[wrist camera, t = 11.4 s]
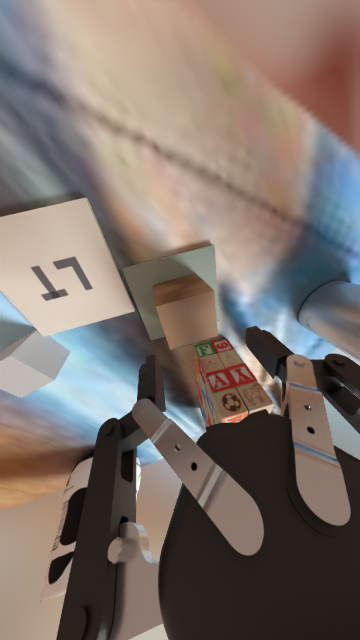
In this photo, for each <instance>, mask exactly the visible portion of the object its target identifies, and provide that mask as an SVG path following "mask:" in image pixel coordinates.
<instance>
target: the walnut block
mask: <svg viewBox="0 0 360 640" xmlns="http://www.w3.org/2000/svg"><path fill="white" fill-rule="evenodd" d="M153 292H154V299H155V306H156V309H157V312H158V315H159V318H160V321H161V324H162V327H163V330H164V333H165V336H166V339H167V342H168V345H169V348H170V350H172V349H175V348H179V347H182V346H185V345H189V344H192V343H196V342H199V341H202V340H206V339H209V338H212V337H216V336H218V330H217V318H216V306H215V294H214V290H213V289H212V288H211V287H210V286H209V285H208V284H207V283H206V282H205V281H204V280H203V279H202V278H200V277H199V276H198V275H197V274H196V273H195V274H191V275H188V276H184V277H180V278H176V279H173V280H169V281H165V282H162V283H158V284H154V285H153Z"/></svg>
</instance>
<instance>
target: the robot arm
mask: <svg viewBox="0 0 360 640" xmlns="http://www.w3.org/2000/svg"><path fill="white" fill-rule="evenodd" d="M298 318H299V322H300V324H301V325H302V326H303V327H305V328H307V329H308V330H310V331H311V332H313V333H314V334H316V335H318V336H319V337H321V338H322V339H324V340H325V341H327V342H328V343H330V344H332V345H333V346H335V347H336V348H338V349H339V350H341V351H343V352H344V353H346V354H347V355H349V356H350V357H352V358H354V359H355V360H357V361H358V362H360V285H357V284H353V283H347V282H344V281H332V282H329V283H327V284H325V285H323V286H321V287H320V288H318V289H317V290H316V291H314V292H313V293H312V294H311V295H310V296H309V297H308V298H307V300H306V301H305V302H304V304H303V305H302V307H301V309H300V312H299V317H298ZM246 345H247V347H248V349H249V350H250V351H251V352H252V353H253V355H254V356H255V357H256V358H257V360H258V361H259V362H260V363H261V365H262V366H263V367H264V368H265V369H266V371H267V372H268V373H269V374H270V376H271V377H272V378H273V379H277V378H280V380H281V412H280V415H277V414H272V413H268V411H267V410H266V409H263V410H260V411H257V412H253V413H251V414H249V415H248V416H246V417H245V418H244V419H242V420H241V421H239V422H236V423H217V424H214V425H211V426H207V427H206V431H207V432H205V433H204V434H203V435H202V436H201V437H200V438H199V439H198V441H197V442H196V443H195V442H194V441H193V440H192V439H191V438H190V437H189V436H188V435H187V434H186V433H185V432H184V431H183V430H182V429H181V428H180V427H179V426H178V425H177V424H176V423H175V422H173V421H172V420H171V419H169V418H167V417H166V416H165V415H164V414H163V413H162V412H165V411H166V407H165V396H164V385H163V374H162V368H161V365H160V363H159V361H158V359H157V356H156V355H151V356H148V357H147V358H146V364H143V365H142V366H141V368H140V370H139V380H138V381H139V382H138V394H137V402H136V404H135V405H134V407H133V409H132V411H131V412H129V413H128V414H127V415H125V416H124V417H122V418H120V419H119V420H118V419H117V418H111V419H109V420H107V421H106V422H105V423H104V424H103V425H102V426H101V427H100V429H99V432H98V435H97V440H96V445H95V450H94V455H93V460H92V465H91V470H90V475H89V480H88V485H87V490H86V495H85V500H84V505H83V510H82V515H81V520H80V524H79V529H78V534H77V539H76V544H75V549H74V554H73V559H72V564H71V569H70V574H69V579H68V584H67V589H66V594H65V599H64V604H63V609H62V614H61V619H60V624H59V629H58V634H57V639H56V640H129V639H131V638H133V637H135V636H137V635H139V634H141V633H143V632H145V631H147V630H149V629H152V628H154V627H156V626H158V625H160V624H162V623H163V624H164V627H165V630H166V633H167V636H168V639H169V640H360V460H358V459H357V458H355V457H353V456H352V455H350V454H348V453H346V452H344V451H343V450H341V449H340V448H338V447H336V446H334V445H333V441H332V437H331V432H330V427H329V423H328V418H327V413H326V409H325V404H324V399H323V396H324V397H325V398H326V399H327V400H328V401H329V402H330V403H331V404H332V405H333V407H335V409H337V411H338V412H339V413H340V414H341V415H342V416H343V417H344V418H345V419H346V420H347V421H348V422H349V423H350V424H351V425H352V426H353V427H354V429H355V430H356V431H357V432H358V433H359V434H360V366H359V365H358V364H356V363H355V362H354V361H352V360H351V359H349V358H348V357H346V356H343V355H339V354H328V355H326V356H325V359H323V360H309V359H308V358H306V357H304V356H302V355H297V354H294V353H293V352H292V351H290V350H289V349H288V348H287V347H286V346H285V345H284V344H283V343H281V342H280V341H279V340H278V339H277V338H275V336H273V335H272V334H271V333H270V332H268V331H265V330H260V329H259V328H258V327H257V326H253V327H250V328H247V329H246ZM345 386H346V387H347V388H348V389H349V390H348V389H347V388H346V387H345ZM353 393H354V394H355V395H356V396H357V397H356V396H355V395H354V394H353ZM148 438H149V439H150V440H151V442H152V443H153V444H154V446H155V447H156V448H157V450H158V451H159V452H160V453H161V455H162V456H163V457H164V459H165V460H166V461H167V462H168V464H169V465H170V466H171V468H172V469H173V470H174V472H175V473H176V474H177V475H178V477H179V478H180V479H181V480H182V482H183V483H182V486H181V489H180V492H179V496H178V499H177V502H176V505H175V508H174V512H173V515H172V518H171V521H170V524H169V528H168V531H167V534H166V537H165V540H164V544H163V547H162V551H161V556H160V561H159V562H157V561H156V560H155V559H154V558H153V556H152V555H151V552H150V549H149V543H148V536H147V533H146V530H145V528H144V527H143V526H142V525H140V524H137V523H136V459H137V446H139V445H140V444H141V443H143V442H144V441H145V440H147V439H148Z"/></svg>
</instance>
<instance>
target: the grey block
mask: <svg viewBox="0 0 360 640" xmlns="http://www.w3.org/2000/svg"><path fill="white" fill-rule="evenodd" d="M70 352H71V351H70V350H68V349H67V348H65V347H64V346H63V345H61V344H60V343H58V342H57V341H56V340H54V339H53V338H51V337H50V336H49V335H47V336H42V335H41V334H40V333H39V331H38V330H37V329H36V330H34V331H32V332H31V333H29V334H27V335H25V336H24V337H22V338H20V339H19V340H17V341H15V342H14V343H12V344H10V345H8V346H7V347H6V348H5V349H4V350H3V351H1V352H0V389H1V390H4V391H6V392H8V393H11V394H13V395H15V396H18V397H20V398H22V397H24V396H26V395H28V394H30V393H31V392H33V391H35V390H37V389H39V388H41V387H43V386H44V385H46V384H48V383H50V382H52V381H54V380H55V378H56V376H57V375H58V373H59V371H60V369H61V368H62V366H63V364H64V362H65V361H66V359H67V357H68V355H69V354H70Z"/></svg>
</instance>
